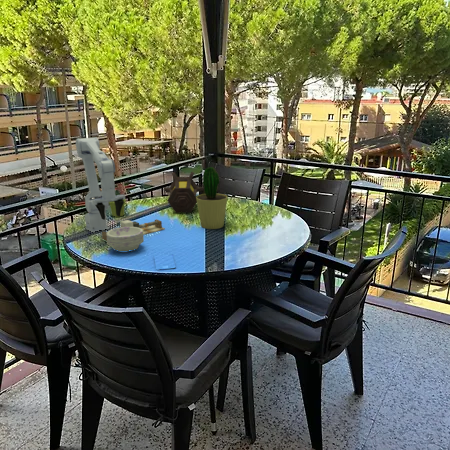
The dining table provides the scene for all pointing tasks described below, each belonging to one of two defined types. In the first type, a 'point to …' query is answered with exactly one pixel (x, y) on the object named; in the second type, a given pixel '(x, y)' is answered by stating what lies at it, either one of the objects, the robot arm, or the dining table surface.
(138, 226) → the bracket
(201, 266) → the dining table surface
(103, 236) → the pipe stand
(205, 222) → the potted cactus
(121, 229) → the paper bowls
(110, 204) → the plant pot
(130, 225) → the pale sage cube
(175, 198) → the lantern
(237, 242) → the dining table surface
